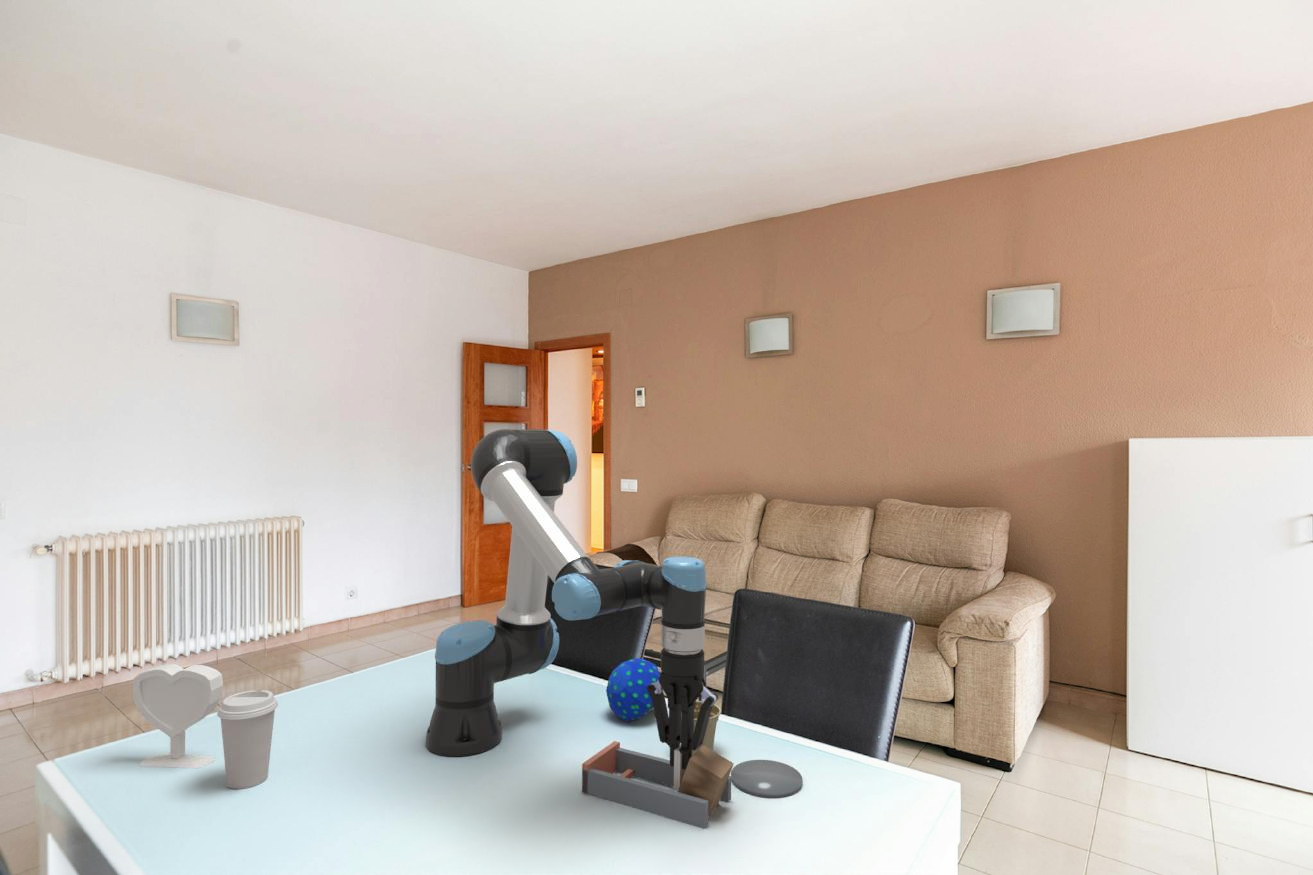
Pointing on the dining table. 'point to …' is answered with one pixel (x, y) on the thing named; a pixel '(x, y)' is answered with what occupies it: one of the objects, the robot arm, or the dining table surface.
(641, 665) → the mushroom
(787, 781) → the coaster
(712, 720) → the flower pot
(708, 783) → the block
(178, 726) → the heart sculpture
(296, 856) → the dining table surface
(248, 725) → the coffee cup
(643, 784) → the channel
